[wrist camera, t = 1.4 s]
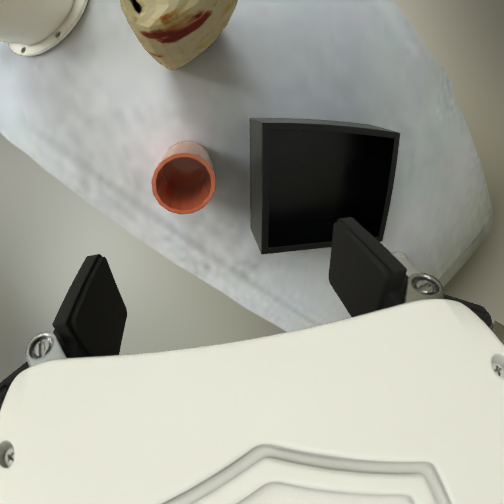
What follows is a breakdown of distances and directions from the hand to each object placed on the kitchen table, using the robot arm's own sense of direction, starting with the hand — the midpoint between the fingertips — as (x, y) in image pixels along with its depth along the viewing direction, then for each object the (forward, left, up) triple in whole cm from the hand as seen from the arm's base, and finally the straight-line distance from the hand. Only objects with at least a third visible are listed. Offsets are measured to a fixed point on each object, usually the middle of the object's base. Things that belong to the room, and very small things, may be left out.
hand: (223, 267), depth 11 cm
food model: (-1, +15, -24) cm, 29 cm away
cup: (-2, -1, -24) cm, 24 cm away
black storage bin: (+14, -3, -24) cm, 28 cm away
